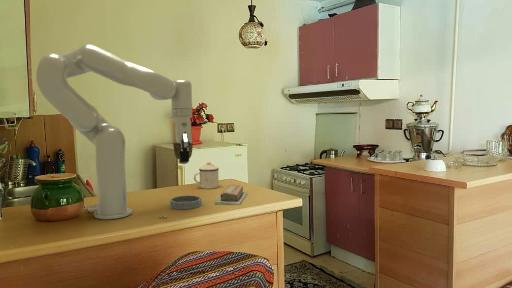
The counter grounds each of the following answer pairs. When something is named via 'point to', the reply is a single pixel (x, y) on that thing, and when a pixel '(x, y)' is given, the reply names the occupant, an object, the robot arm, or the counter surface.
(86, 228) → the counter surface
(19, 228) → the counter surface
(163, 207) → the counter surface
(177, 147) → the dark rounded textured piece
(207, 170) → the teacup with lid
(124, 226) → the counter surface
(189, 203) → the blue-grey plate
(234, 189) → the packaged product
